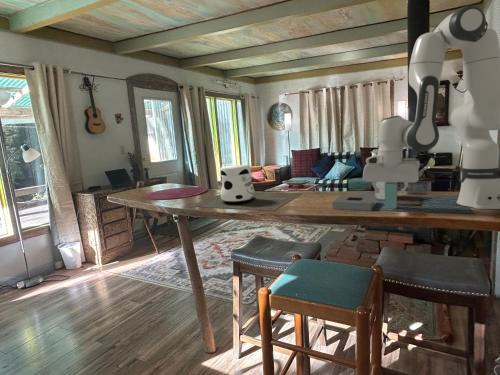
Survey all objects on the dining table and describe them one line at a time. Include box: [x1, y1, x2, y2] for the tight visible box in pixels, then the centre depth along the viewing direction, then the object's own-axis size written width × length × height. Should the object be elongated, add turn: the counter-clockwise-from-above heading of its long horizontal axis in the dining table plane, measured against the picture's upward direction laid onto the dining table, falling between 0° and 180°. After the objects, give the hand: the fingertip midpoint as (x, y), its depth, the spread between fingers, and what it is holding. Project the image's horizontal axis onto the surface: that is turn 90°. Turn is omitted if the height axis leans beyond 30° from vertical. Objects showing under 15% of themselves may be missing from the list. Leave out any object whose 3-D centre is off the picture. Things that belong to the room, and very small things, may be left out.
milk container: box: [219, 164, 255, 204], centre depth 163 cm, size 17×17×18 cm
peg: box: [384, 182, 398, 210], centre depth 128 cm, size 4×4×10 cm
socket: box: [331, 194, 378, 212], centre depth 136 cm, size 15×15×3 cm
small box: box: [374, 182, 386, 200], centre depth 146 cm, size 8×6×13 cm
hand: (389, 193), depth 128 cm, fingers open, 8 cm apart
